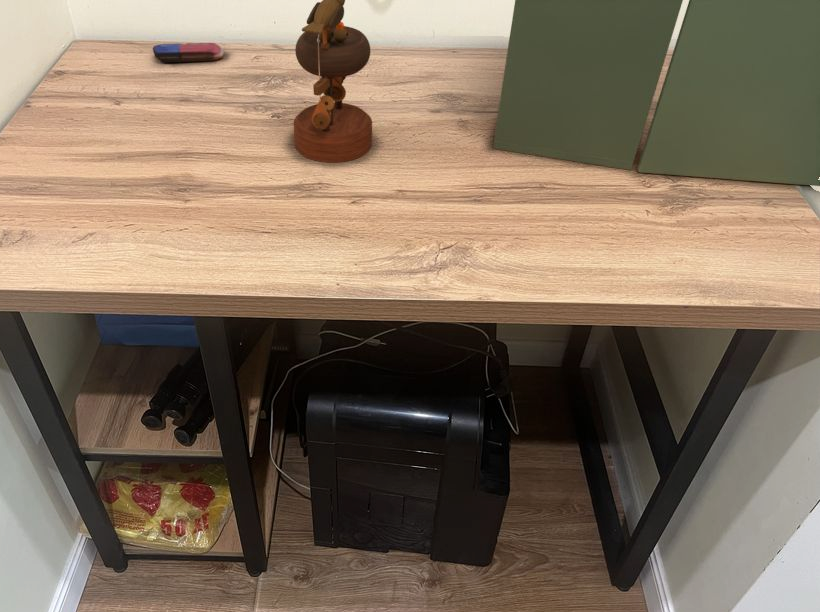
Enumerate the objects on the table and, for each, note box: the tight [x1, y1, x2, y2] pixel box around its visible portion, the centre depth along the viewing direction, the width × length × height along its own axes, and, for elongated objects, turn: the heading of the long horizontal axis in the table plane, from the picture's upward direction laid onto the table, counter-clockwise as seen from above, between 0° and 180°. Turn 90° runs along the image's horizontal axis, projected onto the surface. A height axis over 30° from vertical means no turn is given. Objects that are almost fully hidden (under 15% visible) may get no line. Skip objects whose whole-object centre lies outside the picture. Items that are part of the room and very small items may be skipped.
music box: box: [293, 0, 373, 163], centre depth 91 cm, size 15×11×20 cm
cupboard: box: [492, 0, 684, 171], centre depth 95 cm, size 18×26×24 cm
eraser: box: [152, 42, 225, 63], centre depth 117 cm, size 11×4×2 cm, turn 99°
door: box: [636, 0, 820, 187], centre depth 80 cm, size 7×26×24 cm, turn 82°
